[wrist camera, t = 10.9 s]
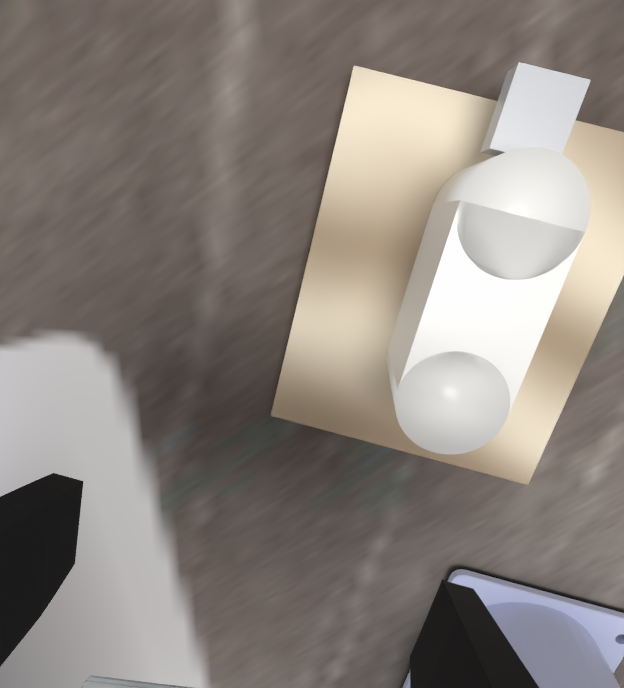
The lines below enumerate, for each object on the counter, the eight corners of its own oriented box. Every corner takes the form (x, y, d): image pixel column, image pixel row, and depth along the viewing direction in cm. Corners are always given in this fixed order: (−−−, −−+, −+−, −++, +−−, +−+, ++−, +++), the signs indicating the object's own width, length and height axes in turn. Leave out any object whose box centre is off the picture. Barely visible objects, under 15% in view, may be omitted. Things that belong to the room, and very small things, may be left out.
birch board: (519, 470, 18) (527, 484, 17) (275, 404, 18) (270, 415, 17) (660, 150, 14) (681, 147, 13) (354, 75, 15) (354, 65, 14)
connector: (456, 406, 16) (486, 466, 12) (375, 385, 16) (381, 438, 13) (570, 107, 13) (654, 66, 10) (470, 82, 13) (516, 31, 10)
